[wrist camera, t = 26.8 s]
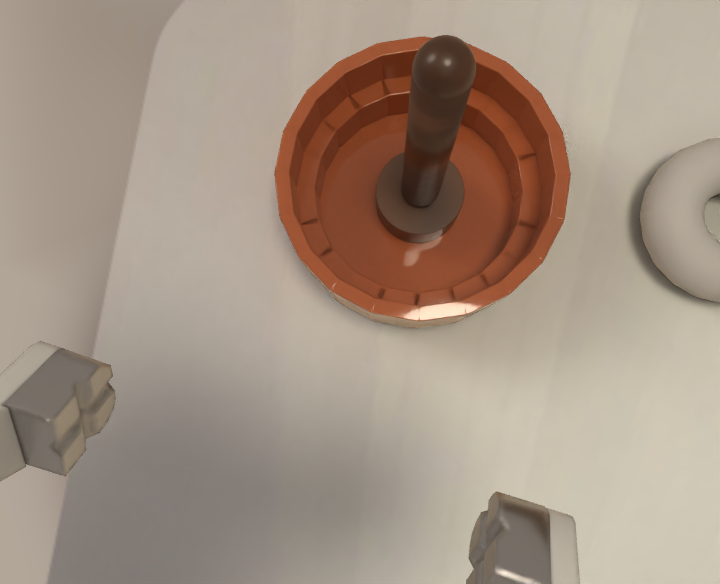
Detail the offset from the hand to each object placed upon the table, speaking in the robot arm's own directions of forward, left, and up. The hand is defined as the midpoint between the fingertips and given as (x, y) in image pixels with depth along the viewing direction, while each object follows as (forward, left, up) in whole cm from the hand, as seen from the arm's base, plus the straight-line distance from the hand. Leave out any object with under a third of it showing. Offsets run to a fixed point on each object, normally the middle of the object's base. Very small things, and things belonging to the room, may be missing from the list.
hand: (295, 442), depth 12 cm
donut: (+23, +7, -24) cm, 34 cm away
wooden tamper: (+5, +11, -23) cm, 26 cm away
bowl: (+5, +11, -23) cm, 27 cm away
